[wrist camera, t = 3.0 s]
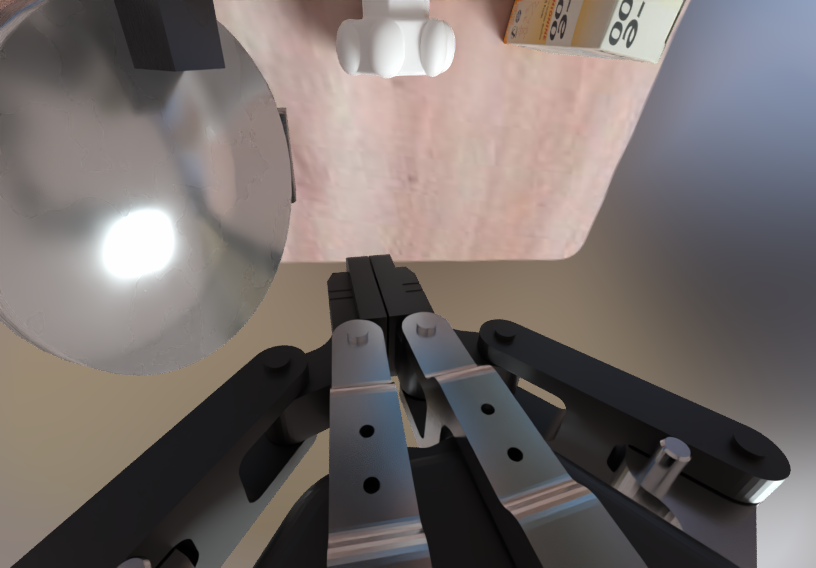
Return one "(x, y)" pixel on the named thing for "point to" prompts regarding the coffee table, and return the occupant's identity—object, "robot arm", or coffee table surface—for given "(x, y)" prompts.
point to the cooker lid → (135, 182)
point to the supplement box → (595, 27)
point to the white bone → (395, 40)
